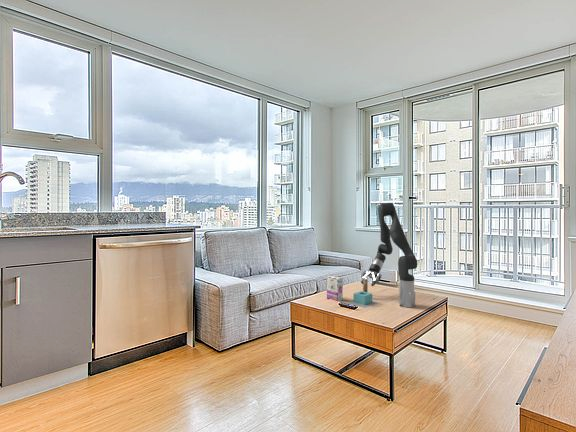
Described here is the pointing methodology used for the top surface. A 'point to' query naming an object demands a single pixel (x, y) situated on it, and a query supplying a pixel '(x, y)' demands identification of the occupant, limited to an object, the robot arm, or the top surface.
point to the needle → (365, 285)
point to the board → (363, 305)
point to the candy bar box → (334, 288)
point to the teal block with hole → (362, 297)
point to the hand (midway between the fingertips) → (366, 284)
